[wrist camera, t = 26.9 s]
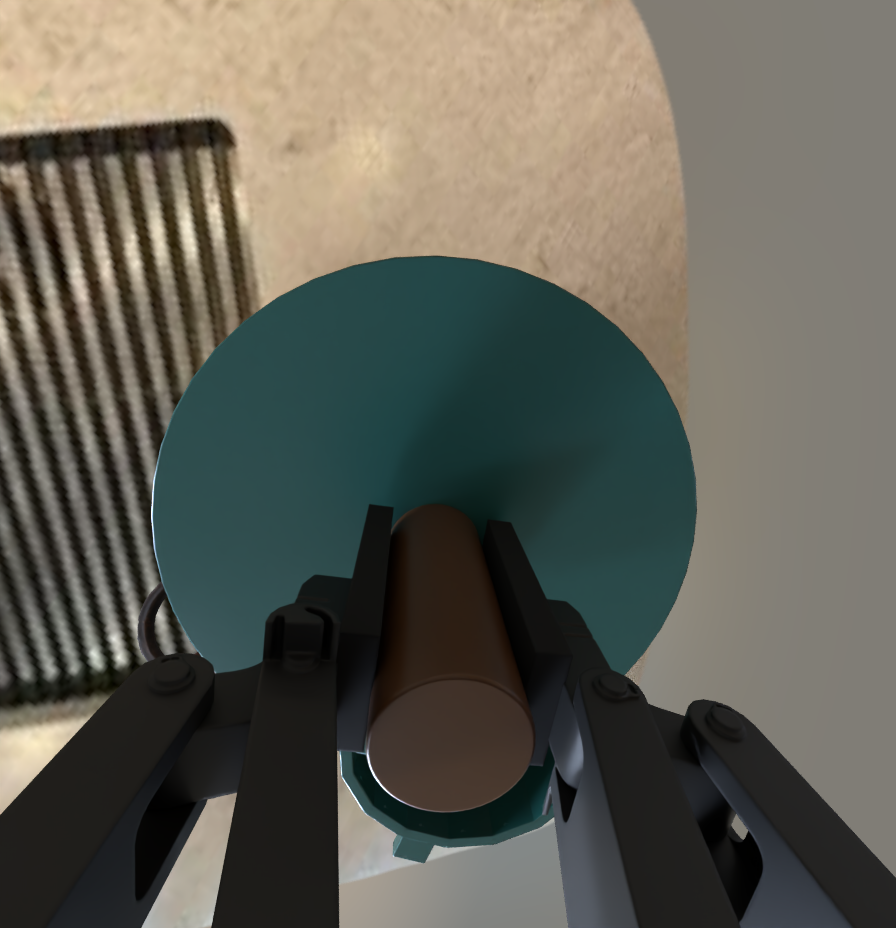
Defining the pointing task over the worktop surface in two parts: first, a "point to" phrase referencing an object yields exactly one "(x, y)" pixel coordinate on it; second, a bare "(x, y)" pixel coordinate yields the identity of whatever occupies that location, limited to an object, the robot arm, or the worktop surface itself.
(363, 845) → the worktop surface
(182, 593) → the lid
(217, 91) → the worktop surface
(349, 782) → the pot
